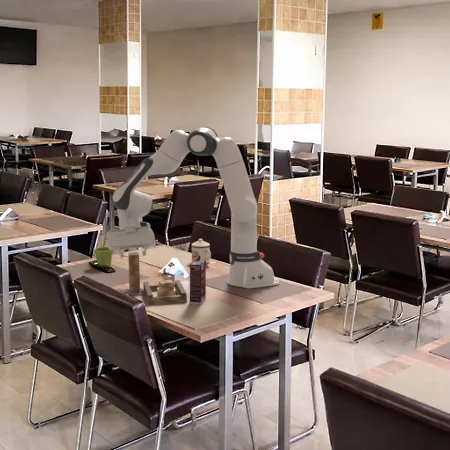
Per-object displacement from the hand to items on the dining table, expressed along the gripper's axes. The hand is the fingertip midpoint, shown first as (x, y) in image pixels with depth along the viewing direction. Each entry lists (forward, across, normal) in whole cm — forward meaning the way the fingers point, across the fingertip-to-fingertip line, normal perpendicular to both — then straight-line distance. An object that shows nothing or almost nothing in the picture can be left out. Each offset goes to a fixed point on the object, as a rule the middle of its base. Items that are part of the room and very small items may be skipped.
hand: (133, 256), depth 282 cm
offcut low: (+25, +10, -8) cm, 28 cm away
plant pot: (-13, -11, +33) cm, 37 cm away
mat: (+17, -2, 0) cm, 17 cm away
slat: (+17, -2, -1) cm, 17 cm away
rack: (+22, +10, -6) cm, 25 cm away
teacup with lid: (-10, +36, +32) cm, 49 cm away
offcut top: (+22, +10, -10) cm, 26 cm away
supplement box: (+30, +22, -12) cm, 39 cm away
